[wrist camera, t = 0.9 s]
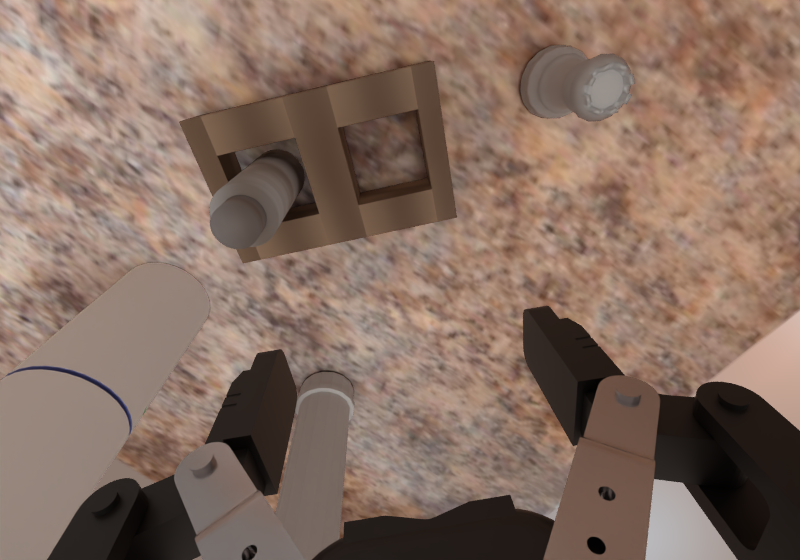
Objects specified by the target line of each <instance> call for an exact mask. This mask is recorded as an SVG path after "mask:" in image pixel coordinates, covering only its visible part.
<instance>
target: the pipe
mask: <svg viewBox="0 0 800 560" xmlns="http://www.w3.org/2000/svg"><path fill="white" fill-rule="evenodd" d="M353 396H354V389H353V387H352V385H351V383H350V381H349V380H348V379H346V378H345V377H344V376H343V375H340V374H337V373H335V372H320V373H316V374H313V375H312V376H310V377H309V378H307V379H306V380H305V381H304V383H303V385H302V387H301V389H300V394H299V397H298V398H297V404H296V414H297V420H296V424H295V429H294V433H293V438H292V442H291V446H290V451H289V455H288V460H287V464H286V469H285V473H284V477H283V482H282V486H281V491H280V495H279V499H278V504H277V508H276V513H275V514H276V516H277V517H278V519H279V520H280V522H281V523H282V525H283V526H284V528H285V530H286V531H287V533H288V534H289V536H290V537H291V539H292V540H293V542H294V543H295V545H296V547H297V548H298V550H299V551H300V553H301V554H302V556H303V557H304V559H305V560H312V559H313V558H314V557H315V556H316V555H317V554H318V553H319V552H321V551H322V550H323V549H325V548H326V547H327V546H329V545H330V544H332V543H334V542H335V541H337V540H339V536H340V523H341V511H342V499H343V486H344V474H345V462H346V449H347V437H348V425H349V421H350V420H351V418H352V417H353V415H354V401H353Z"/></svg>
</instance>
